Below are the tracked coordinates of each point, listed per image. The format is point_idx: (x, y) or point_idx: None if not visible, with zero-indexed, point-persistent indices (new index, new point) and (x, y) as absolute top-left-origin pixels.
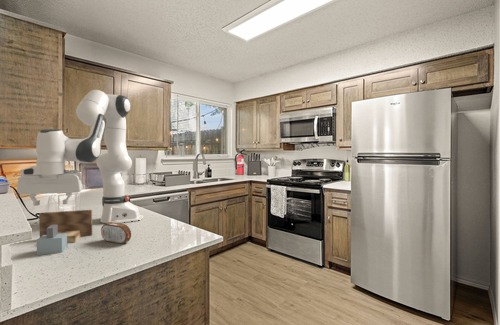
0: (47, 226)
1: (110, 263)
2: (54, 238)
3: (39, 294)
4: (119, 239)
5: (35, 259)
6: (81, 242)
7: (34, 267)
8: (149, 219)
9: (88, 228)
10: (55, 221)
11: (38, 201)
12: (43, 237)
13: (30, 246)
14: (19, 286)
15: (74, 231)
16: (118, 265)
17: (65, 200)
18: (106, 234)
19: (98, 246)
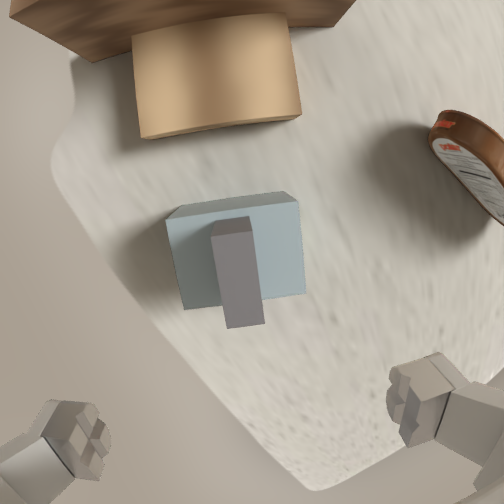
0: (96, 29)
1: None
2: (270, 298)
3: (335, 474)
4: (491, 207)
5: (218, 322)
6: (328, 132)
7: (257, 385)
8: None
9: (330, 10)
10: (130, 3)
11: (93, 464)
12: (196, 271)
13: (96, 151)
14: (281, 458)
15: (261, 32)
16: None
17: (435, 430)
18: (456, 159)
19: (418, 216)
